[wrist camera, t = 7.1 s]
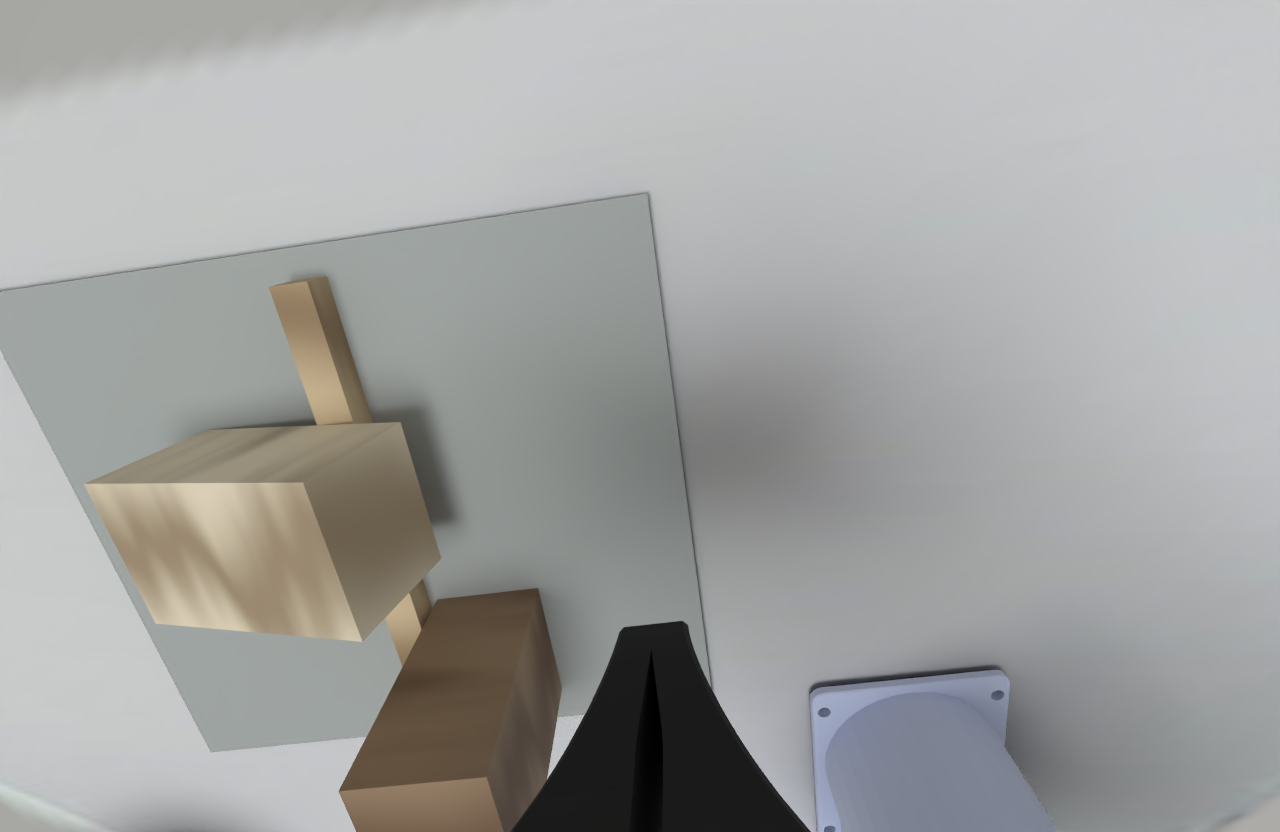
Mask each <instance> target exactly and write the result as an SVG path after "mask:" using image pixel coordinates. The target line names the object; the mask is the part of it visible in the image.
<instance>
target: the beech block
mask: <svg viewBox="0 0 1280 832" xmlns="http://www.w3.org/2000/svg"><path fill="white" fill-rule="evenodd" d="M84 485H85V487H86V489H87V491H88V493H89V495H90V497H91V499H92V501H93V503H94V505H95V507H96V509H97V511H98V513H99V515H100V517H101V518H102V520H103V522H104V524H105V526H106V528H107V530H108V532H109V534H110V536H111V538H112V540H113V542H114V544H115V546H116V548H117V550H118V551H119V553H120V555H121V557H122V559H123V561H124V563H125V565H126V567H127V569H128V571H129V573H130V575H131V577H132V579H133V581H134V583H135V584H136V586H137V588H138V590H139V592H140V594H141V596H142V598H143V600H144V602H145V604H146V606H147V608H148V610H149V612H150V614H151V616H152V617H153V619H154V621H155V623H156V624H165V625H176V626H187V627H199V628H210V629H222V630H233V631H244V632H256V633H267V634H279V635H290V636H301V637H313V638H324V639H335V640H347V641H358V642H363V641H364V640H365V639H366V638H367V637H368V636H369V634H370V633H371V632H372V631H373V630H374V629H375V628H376V627H377V626H378V625H379V624H380V623H381V622H382V621H383V620H384V619H385V618H386V617H387V616H388V614H389V613H390V612H391V611H392V610H393V609H394V608H395V607H396V606H397V605H398V604H399V603H400V602H401V601H402V600H403V599H404V598H405V597H406V595H407V594H408V593H409V592H410V591H411V590H412V589H413V588H414V587H415V586H416V585H417V584H418V583H419V582H420V581H421V580H422V579H423V578H424V577H425V575H426V574H427V573H428V572H429V571H430V570H431V569H432V568H433V567H434V566H435V565H436V564H437V563H438V562H439V561H440V560H441V556H440V552H439V549H438V546H437V542H436V539H435V536H434V532H433V529H432V526H431V522H430V519H429V516H428V512H427V509H426V506H425V502H424V499H423V496H422V492H421V489H420V486H419V482H418V479H417V476H416V472H415V469H414V466H413V462H412V459H411V456H410V452H409V449H408V446H407V442H406V439H405V436H404V432H403V429H402V426H401V422H389V423H364V424H340V425H315V426H290V427H265V428H241V429H216V430H206V431H204V432H201V433H199V434H197V435H195V436H192V437H190V438H188V439H185V440H183V441H181V442H179V443H176V444H174V445H172V446H169V447H167V448H165V449H162V450H160V451H158V452H156V453H153V454H151V455H149V456H146V457H144V458H142V459H140V460H137V461H135V462H133V463H130V464H128V465H126V466H123V467H121V468H119V469H117V470H114V471H112V472H110V473H107V474H105V475H103V476H101V477H98V478H96V479H94V480H91V481H89V482H87V483H84Z"/></svg>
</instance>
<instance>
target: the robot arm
mask: <svg viewBox="0 0 1280 832" xmlns="http://www.w3.org/2000/svg"><path fill="white" fill-rule="evenodd" d="M994 691H996V692H994ZM1009 694H1010V680H1009V678H1008V677H1007V676H1006V674H1005V673H1004V672H1003V671H1000V670H987V671H977V672H967V673H958V674H948V675H938V676H928V677H918V678H908V679H899V680H889V681H879V682H869V683H859V684H849V685H840V686H830V687H821V688H817V689H815V690H814V691H812V693H811V694H810V715H811V732H812V749H813V767H814V784H815V801H816V819H817V832H1059V830H1058V829H1057V827H1056V826H1055V824H1054V823H1053V821H1052V820H1051V818H1050V816H1049V815H1048V813H1047V812H1046V810H1045V809H1044V807H1043V806H1042V804H1041V803H1040V801H1039V799H1038V798H1037V796H1036V795H1035V793H1034V792H1033V790H1032V789H1031V787H1030V785H1029V784H1028V782H1027V781H1026V779H1025V778H1024V776H1023V775H1022V773H1021V771H1020V770H1019V768H1018V767H1017V765H1016V764H1015V762H1014V761H1013V759H1012V758H1011V756H1010V754H1009V753H1008V751H1007V750H1006V748H1005V738H1006V727H1007V716H1008V705H1009ZM821 708H826V709H823V710H820V709H821ZM510 832H810V830H809V829H808V828H807V827H806V826H805V824H804V823H803V822H802V821H801V820H800V819H799V817H798V816H797V815H796V814H795V813H794V811H793V810H792V809H791V808H790V807H789V805H788V804H787V803H786V802H785V801H784V800H783V798H782V797H781V796H780V795H779V793H778V792H777V791H776V789H775V788H774V787H773V785H772V784H771V783H770V781H769V780H768V779H767V777H766V776H765V775H764V773H763V772H762V770H761V769H760V768H759V766H758V765H757V763H756V762H755V761H754V759H753V758H752V756H751V755H750V753H749V752H748V750H747V749H746V747H745V746H744V744H743V743H742V741H741V740H740V738H739V736H738V735H737V733H736V732H735V730H734V728H733V727H732V725H731V723H730V722H729V720H728V718H727V717H726V715H725V713H724V711H723V710H722V708H721V706H720V704H719V702H718V700H717V698H716V696H715V695H714V693H713V691H712V689H711V687H710V685H709V683H708V681H707V679H706V677H705V674H704V672H703V670H702V668H701V665H700V663H699V661H698V658H697V656H696V653H695V650H694V647H693V644H692V641H691V637H690V633H689V627H688V624H686V623H685V622H683V621H676V622H666V623H657V624H648V625H639V626H630V627H624V628H623V629H622V630H621V631H620V632H619V635H618V638H617V641H616V644H615V647H614V650H613V653H612V655H611V658H610V661H609V663H608V666H607V668H606V670H605V673H604V675H603V678H602V680H601V682H600V684H599V686H598V688H597V691H596V693H595V695H594V697H593V699H592V701H591V703H590V706H589V708H588V710H587V712H586V714H585V716H584V717H583V719H582V721H581V723H580V725H579V727H578V728H577V730H576V732H575V734H574V736H573V738H572V739H571V741H570V743H569V745H568V747H567V748H566V750H565V752H564V754H563V755H562V757H561V759H560V760H559V762H558V764H557V765H556V767H555V768H554V770H553V772H552V773H551V775H550V776H549V778H548V779H547V781H546V782H545V784H544V785H543V787H542V788H541V790H540V791H539V793H538V794H537V796H536V797H535V798H534V800H533V801H532V803H531V804H530V805H529V807H528V808H527V809H526V811H525V812H524V814H523V815H522V816H521V818H520V819H519V821H518V822H517V823H516V825H515V826H514V827H513V828H512V830H511V831H510Z"/></svg>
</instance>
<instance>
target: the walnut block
mask: <svg viewBox="0 0 1280 832" xmlns="http://www.w3.org/2000/svg"><path fill="white" fill-rule="evenodd" d="M561 692H562V686H561V682H560V677H559V673H558V669H557V665H556V661H555V657H554V652H553V648H552V644H551V640H550V636H549V631H548V627H547V623H546V619H545V615H544V611H543V606H542V602H541V598H540V594H539V590H538V588H533V589H524V590H515V591H506V592H498V593H489V594H480V595H471V596H463V597H454V598H445V599H437V601H436V602H435V604H434V606H433V608H432V610H431V612H430V614H429V616H428V618H427V620H426V622H425V624H424V626H423V628H422V630H421V632H420V634H419V636H418V638H417V640H416V642H415V643H414V645H413V647H412V649H411V651H410V653H409V655H408V657H407V659H406V661H405V663H404V665H403V667H402V669H401V671H400V673H399V675H398V677H397V679H396V681H395V683H394V685H393V686H392V688H391V690H390V692H389V694H388V696H387V698H386V700H385V702H384V704H383V706H382V708H381V710H380V712H379V714H378V716H377V718H376V720H375V722H374V724H373V726H372V727H371V729H370V731H369V733H368V735H367V737H366V739H365V741H364V743H363V745H362V747H361V749H360V751H359V753H358V755H357V757H356V759H355V761H354V763H353V765H352V767H351V768H350V770H349V772H348V774H347V776H346V778H345V780H344V782H343V784H342V786H341V788H340V790H339V793H340V795H341V798H342V800H343V802H344V804H345V807H346V809H347V811H348V813H349V816H350V818H351V820H352V823H353V825H354V827H355V829H356V832H510V831H511V830H512V828H513V827H514V826H515V825H516V823H517V822H518V821H519V819H520V818H521V816H522V815H523V814H524V812H525V811H526V809H527V808H528V807H529V805H530V804H531V803H532V801H533V800H534V798H535V797H536V796H537V794H538V793H539V791H540V790H541V788H542V787H543V785H544V784H545V782H546V781H547V775H548V769H549V763H550V757H551V751H552V745H553V740H554V734H555V728H556V722H557V716H558V710H559V704H560V698H561Z"/></svg>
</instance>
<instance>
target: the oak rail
mask: <svg viewBox="0 0 1280 832" xmlns="http://www.w3.org/2000/svg"><path fill="white" fill-rule="evenodd" d="M269 290H270V293H271V295H272V298H273V301H274V304H275V307H276V310H277V312H278V315H279V318H280V321H281V324H282V327H283V329H284V332H285V335H286V338H287V341H288V344H289V347H290V349H291V352H292V355H293V358H294V361H295V364H296V366H297V369H298V372H299V375H300V378H301V381H302V383H303V386H304V389H305V392H306V395H307V398H308V400H309V403H310V406H311V409H312V412H313V415H314V418H315V420H316V423H317V425H340V424H364V423H373V420H372V417H371V414H370V411H369V408H368V404H367V401H366V398H365V395H364V392H363V389H362V386H361V382H360V379H359V376H358V373H357V370H356V367H355V363H354V360H353V357H352V354H351V351H350V348H349V345H348V341H347V338H346V335H345V332H344V329H343V326H342V322H341V319H340V316H339V313H338V310H337V307H336V304H335V300H334V297H333V294H332V291H331V288H330V285H329V281H328V278H327V276H323V277H317V278H310V279H303V280H296V281H290V282H286V283H282V284H278V285H274V286H270V287H269ZM431 610H432V606H431V603H430V600H429V597H428V594H427V591H426V587H425V584H424V581H423V579H422V580H421V581H420V582H419V583H418V584H417V585H416V586H415V587H414V588H413V589H412V590H411V591H410V592H409V593H408V594H407V595H406V597H405V598H404V599H403V600H402V601H401V602H400V603H399V604H398V605H397V606H396V607H395V608H394V609H393V610H392V611H391V612H390V613H389V614H388V616H387V617H386V618H385V619H386V622H387V625H388V628H389V631H390V633H391V636H392V639H393V642H394V645H395V648H396V650H397V653H398V656H399V659H400V662H401V665H402V667H403V665H404V663H405V661H406V659H407V657H408V655H409V653H410V651H411V649H412V647H413V645H414V643H415V642H416V640H417V638H418V636H419V634H420V632H421V630H422V628H423V626H424V624H425V622H426V620H427V618H428V616H429V614H430V612H431Z"/></svg>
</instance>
